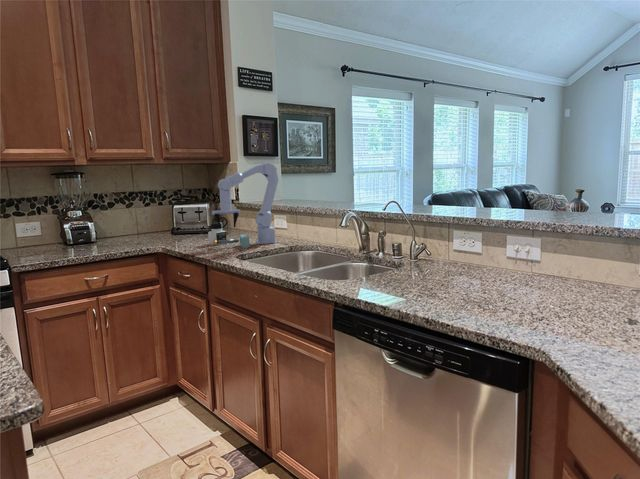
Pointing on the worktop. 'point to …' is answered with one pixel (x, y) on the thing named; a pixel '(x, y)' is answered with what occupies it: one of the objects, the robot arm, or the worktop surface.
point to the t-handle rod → (224, 241)
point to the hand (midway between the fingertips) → (227, 227)
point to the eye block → (244, 241)
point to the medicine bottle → (216, 233)
